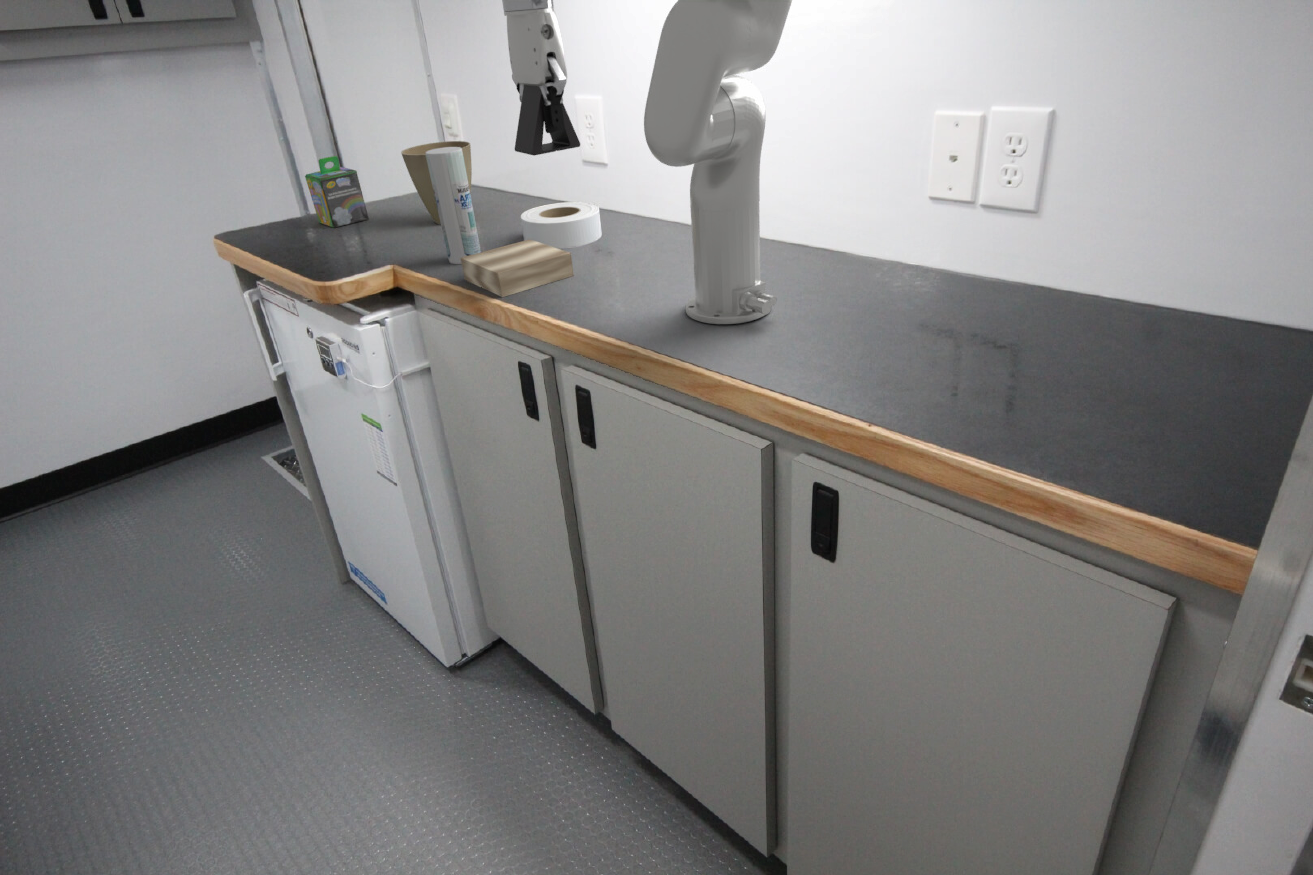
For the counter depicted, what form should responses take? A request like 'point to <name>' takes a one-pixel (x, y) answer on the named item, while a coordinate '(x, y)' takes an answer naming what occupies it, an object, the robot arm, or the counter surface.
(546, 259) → the birch base
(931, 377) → the counter surface
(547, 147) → the black triangular stand
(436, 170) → the spray can
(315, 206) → the chalk box
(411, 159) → the plant pot
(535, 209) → the roll of tape
